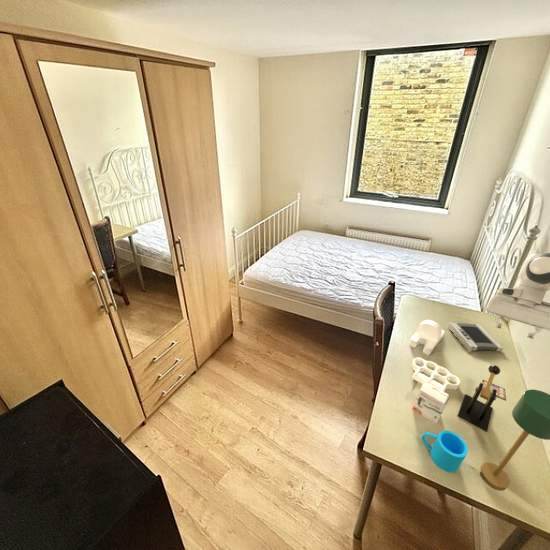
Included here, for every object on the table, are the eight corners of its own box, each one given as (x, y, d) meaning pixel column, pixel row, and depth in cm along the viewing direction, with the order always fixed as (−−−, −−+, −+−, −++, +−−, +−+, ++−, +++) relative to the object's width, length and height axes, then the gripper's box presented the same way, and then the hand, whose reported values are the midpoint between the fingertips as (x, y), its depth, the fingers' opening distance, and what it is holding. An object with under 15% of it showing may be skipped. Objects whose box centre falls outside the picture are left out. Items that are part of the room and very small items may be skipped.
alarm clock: (449, 322, 147) (481, 320, 147) (447, 329, 149) (478, 327, 149) (470, 346, 132) (506, 343, 132) (468, 353, 134) (503, 351, 134)
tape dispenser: (408, 344, 137) (414, 326, 132) (423, 327, 148) (428, 310, 143) (429, 355, 131) (436, 337, 126) (442, 336, 142) (449, 319, 137)
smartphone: (504, 376, 121) (505, 374, 121) (504, 402, 110) (506, 400, 110) (482, 368, 125) (483, 366, 125) (479, 391, 114) (481, 389, 114)
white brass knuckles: (403, 375, 120) (417, 357, 130) (449, 402, 110) (461, 380, 119) (405, 370, 119) (419, 352, 128) (452, 397, 108) (464, 375, 117)
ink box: (410, 411, 106) (419, 388, 100) (415, 402, 110) (424, 380, 104) (435, 426, 101) (446, 404, 95) (440, 416, 105) (450, 394, 99)
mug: (461, 456, 92) (470, 441, 88) (456, 478, 87) (465, 463, 83) (421, 433, 99) (428, 418, 95) (414, 452, 93) (421, 436, 89)
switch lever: (488, 365, 107) (491, 361, 105) (499, 370, 105) (502, 366, 103) (477, 396, 102) (479, 392, 100) (488, 401, 100) (491, 398, 98)
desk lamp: (508, 470, 89) (563, 397, 73) (514, 500, 82) (577, 428, 66) (474, 456, 93) (519, 384, 76) (477, 484, 85) (528, 412, 69)
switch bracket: (463, 396, 112) (475, 373, 106) (491, 410, 107) (505, 386, 101) (456, 417, 104) (468, 393, 98) (485, 433, 99) (500, 409, 93)
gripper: (561, 308, 102) (548, 345, 102) (492, 290, 114) (480, 323, 113) (567, 306, 97) (553, 344, 97) (494, 287, 108) (481, 321, 108)
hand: (513, 332), depth 105 cm, fingers open, 8 cm apart
